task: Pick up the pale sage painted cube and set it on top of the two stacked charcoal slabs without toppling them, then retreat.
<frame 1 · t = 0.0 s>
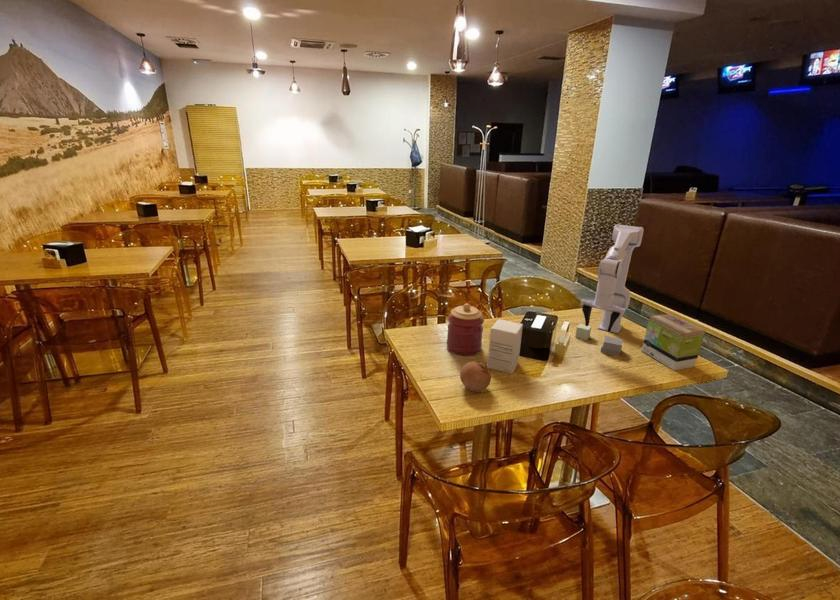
hand: (597, 328, 152), 10 cm above the table, fingers open, 7 cm apart
onion: (474, 389, 131), on the table
sage block: (582, 337, 169), on the table
slab bottom: (610, 352, 158), on the table, touching slab top
supplement box: (502, 365, 146), on the table
canister: (463, 348, 157), on the table
tea box: (666, 359, 153), on the table
slab top: (612, 346, 157), point 2 cm above the table, touching slab bottom
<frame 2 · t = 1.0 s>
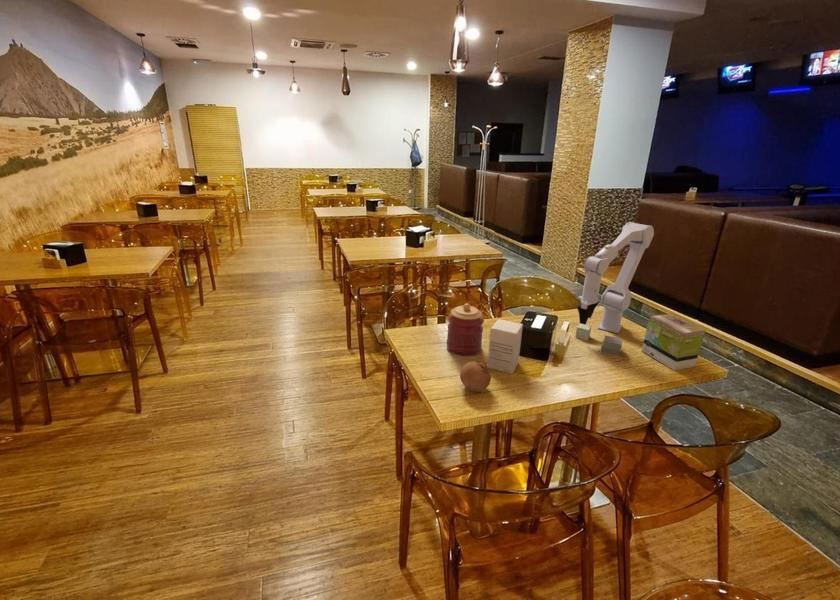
hand: (585, 320, 166), 7 cm above the table, fingers open, 7 cm apart
slab bottom: (610, 351, 158), on the table
slab top: (611, 346, 157), point 2 cm above the table
everything else where it was.
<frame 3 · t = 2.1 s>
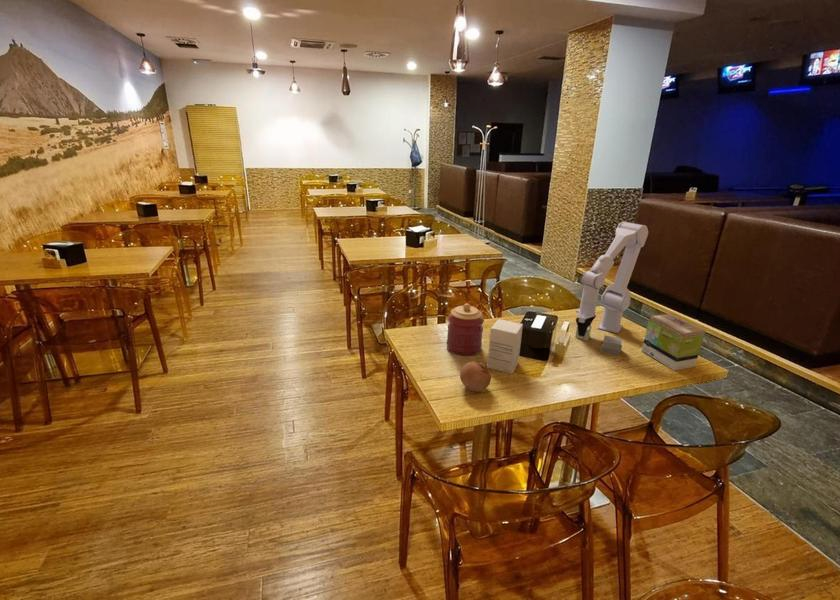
hand: (583, 333, 168), 1 cm above the table, fingers closed on sage block, 4 cm apart
sage block: (582, 336, 169), on the table, touching gripper
slab bottom: (610, 351, 158), on the table, touching slab top
slab top: (611, 346, 157), point 2 cm above the table, touching slab bottom
everything else where it was.
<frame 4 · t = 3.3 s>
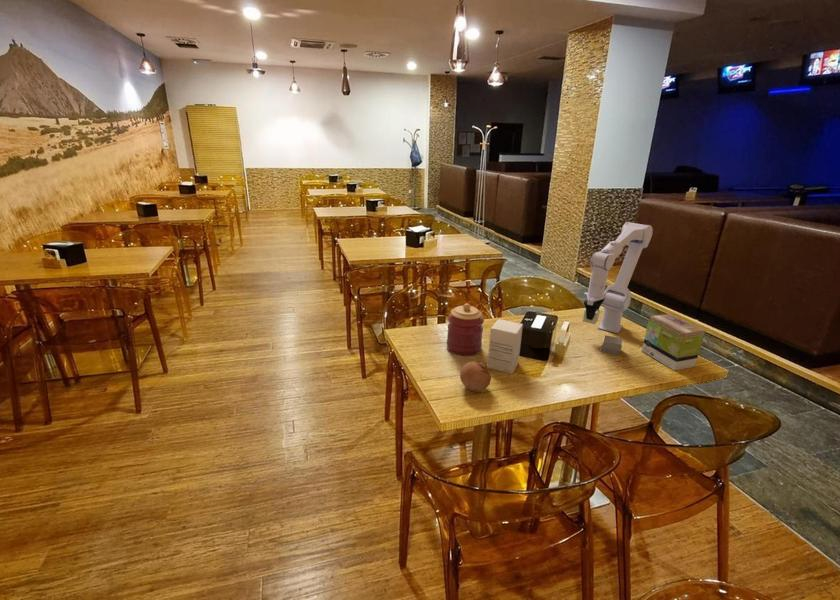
hand: (591, 317, 164), 9 cm above the table, fingers closed on sage block, 4 cm apart
sage block: (590, 321, 164), point 8 cm above the table, touching gripper
everything else where it was.
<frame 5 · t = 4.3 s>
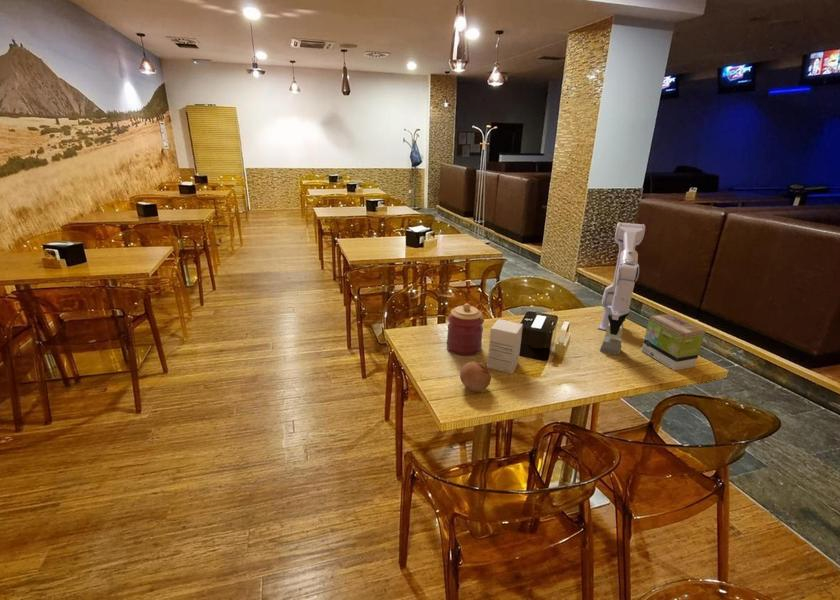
hand: (615, 331, 155), 8 cm above the table, fingers closed on sage block, 4 cm apart
sage block: (613, 335, 156), point 6 cm above the table, touching gripper
everything else where it was.
when the fingers open (7 cm above the table, at t = 4.8 s): sage block drops 1 cm, resting on slab top.
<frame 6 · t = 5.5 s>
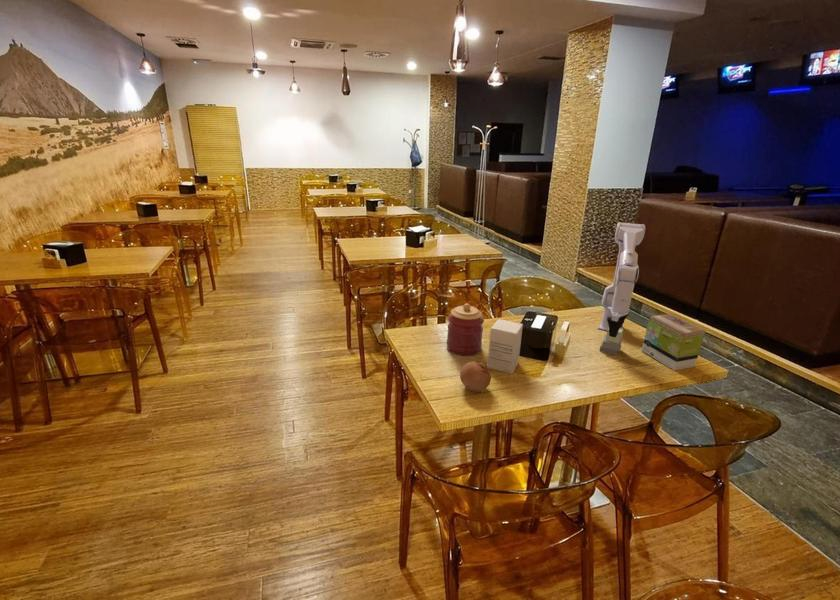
hand: (614, 333, 155), 7 cm above the table, fingers open, 7 cm apart
sage block: (613, 339, 156), point 5 cm above the table, touching slab top
slab top: (611, 345, 157), point 2 cm above the table, touching sage block, slab bottom
everything else where it was.
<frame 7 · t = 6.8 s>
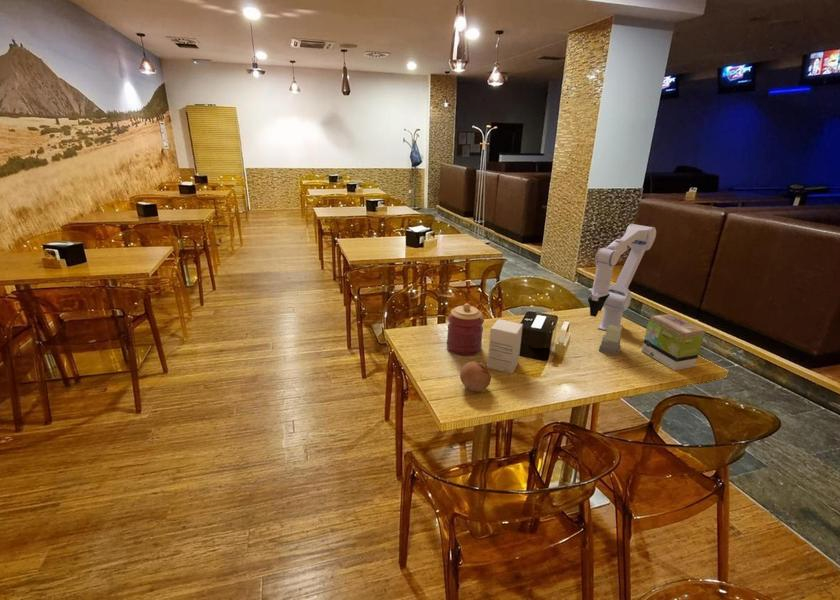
hand: (595, 313, 165), 10 cm above the table, fingers open, 7 cm apart
sage block: (612, 339, 157), point 5 cm above the table
slab top: (610, 345, 157), point 2 cm above the table, touching slab bottom
everything else where it was.
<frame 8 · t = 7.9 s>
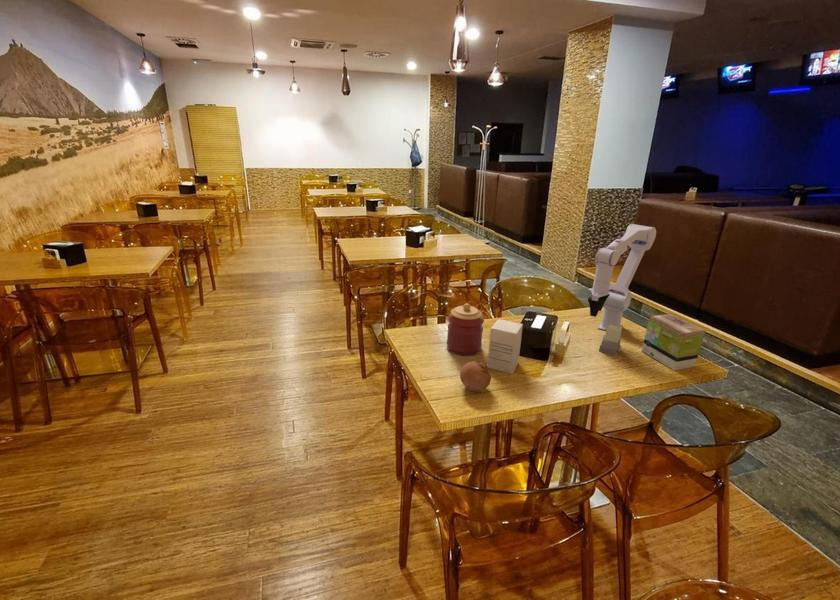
hand: (595, 313, 165), 10 cm above the table, fingers open, 7 cm apart
sage block: (612, 339, 157), point 5 cm above the table, touching slab top
slab top: (610, 345, 158), point 2 cm above the table, touching sage block, slab bottom
everything else where it was.
at the end: sage block 0.3 cm off-centre on the slab top, point 2.5 cm above the slab top's base; slab top 0.0 cm off-centre on the slab bottom, point 2.5 cm above the slab bottom's base; sage block tilted 0° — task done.
